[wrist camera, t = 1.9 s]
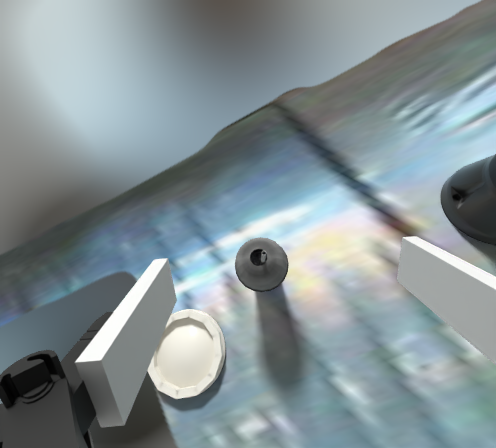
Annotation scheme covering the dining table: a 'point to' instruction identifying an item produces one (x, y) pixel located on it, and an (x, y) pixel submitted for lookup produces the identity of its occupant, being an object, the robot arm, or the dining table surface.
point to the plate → (188, 354)
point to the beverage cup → (261, 264)
